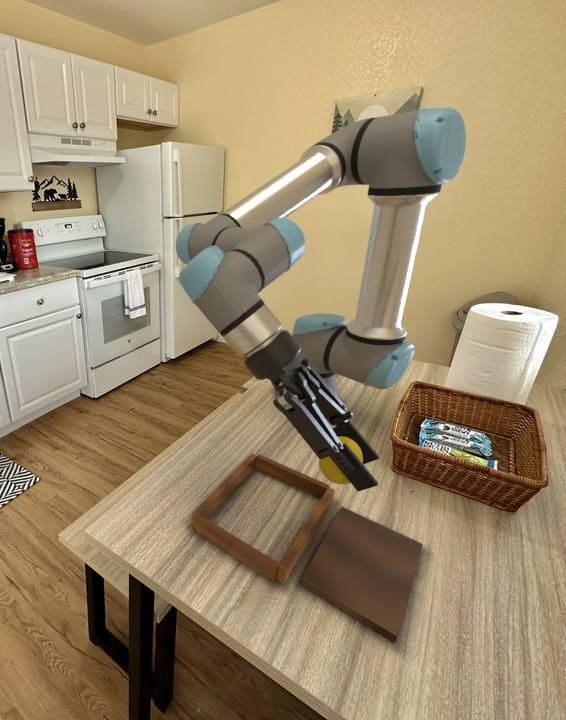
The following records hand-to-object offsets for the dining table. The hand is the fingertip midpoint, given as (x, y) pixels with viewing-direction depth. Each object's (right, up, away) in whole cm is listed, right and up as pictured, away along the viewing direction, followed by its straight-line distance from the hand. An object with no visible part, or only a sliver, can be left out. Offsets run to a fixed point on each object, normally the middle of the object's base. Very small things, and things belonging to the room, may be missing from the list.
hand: (368, 472), depth 53 cm
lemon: (-3, -3, +3) cm, 5 cm away
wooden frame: (-10, -12, +15) cm, 21 cm away
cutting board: (+2, -16, +5) cm, 17 cm away
